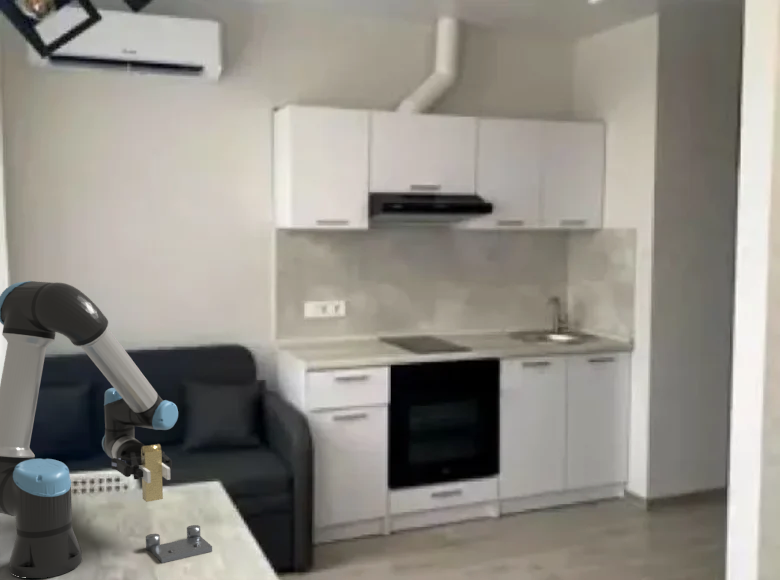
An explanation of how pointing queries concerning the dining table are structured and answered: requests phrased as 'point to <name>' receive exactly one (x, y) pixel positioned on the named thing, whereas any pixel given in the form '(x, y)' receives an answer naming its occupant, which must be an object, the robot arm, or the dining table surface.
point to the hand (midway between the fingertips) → (158, 475)
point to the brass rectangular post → (152, 472)
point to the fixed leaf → (178, 546)
